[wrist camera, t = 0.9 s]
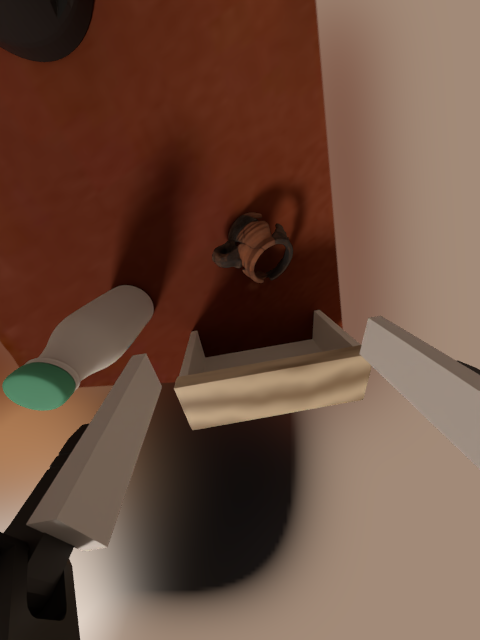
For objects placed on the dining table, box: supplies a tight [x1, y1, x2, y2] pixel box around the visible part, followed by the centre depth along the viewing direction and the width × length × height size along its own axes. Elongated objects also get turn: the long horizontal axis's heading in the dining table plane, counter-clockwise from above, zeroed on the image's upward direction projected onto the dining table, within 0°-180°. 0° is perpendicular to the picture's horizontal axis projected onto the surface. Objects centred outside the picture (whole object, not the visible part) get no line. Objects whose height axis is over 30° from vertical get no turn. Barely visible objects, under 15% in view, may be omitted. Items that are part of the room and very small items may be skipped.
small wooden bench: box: [174, 310, 372, 430], centre depth 32 cm, size 9×26×15 cm, turn 98°
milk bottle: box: [3, 285, 154, 410], centre depth 24 cm, size 8×8×20 cm
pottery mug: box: [212, 212, 293, 283], centre depth 29 cm, size 12×10×8 cm
